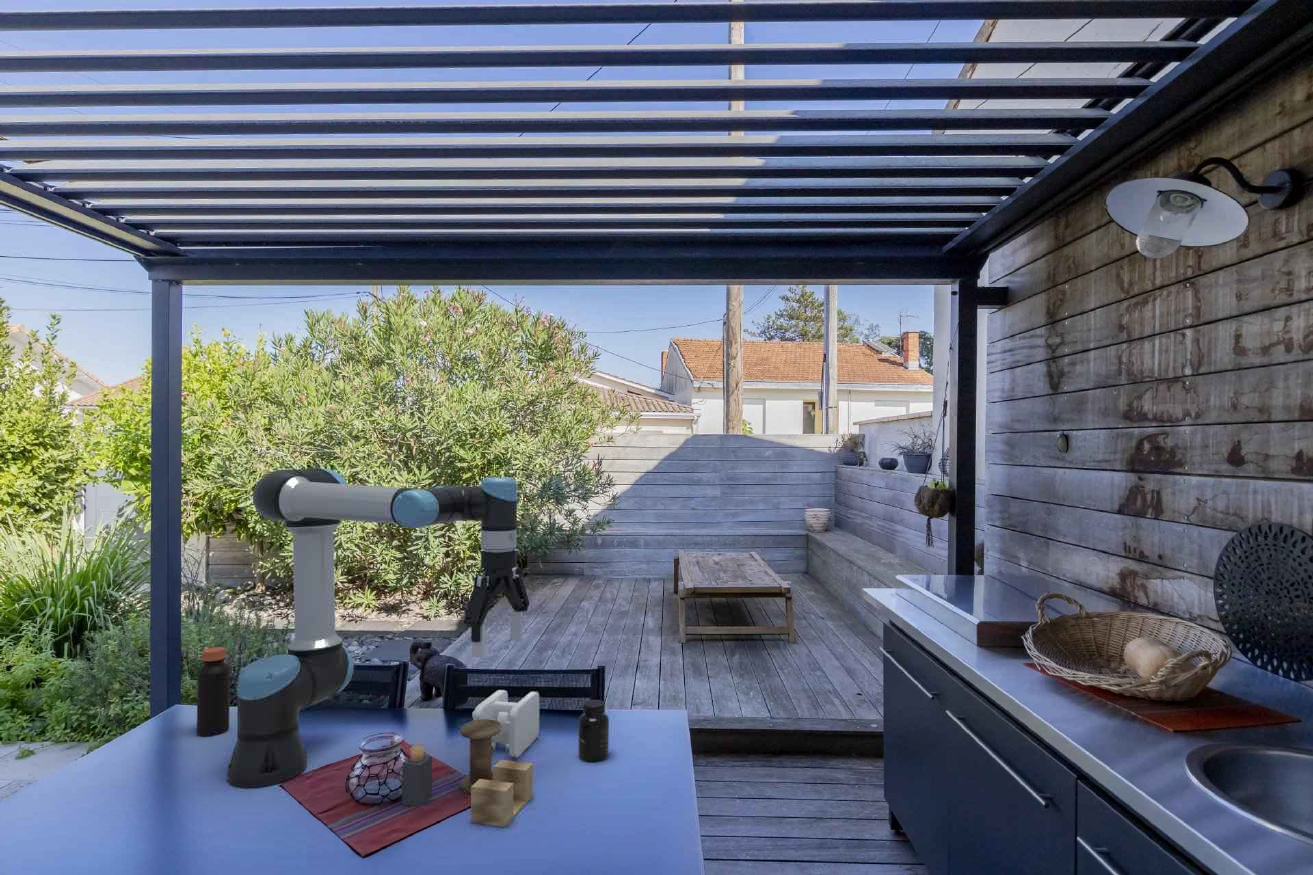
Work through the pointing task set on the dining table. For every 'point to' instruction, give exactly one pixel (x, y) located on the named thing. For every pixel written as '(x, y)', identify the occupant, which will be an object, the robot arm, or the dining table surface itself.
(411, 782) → the gray block with knob
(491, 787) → the wooden u-shaped block
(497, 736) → the cable organizer
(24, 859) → the dining table surface
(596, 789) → the dining table surface
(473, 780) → the bobbin
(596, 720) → the supplement bottle
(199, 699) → the vinegar
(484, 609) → the robot arm
